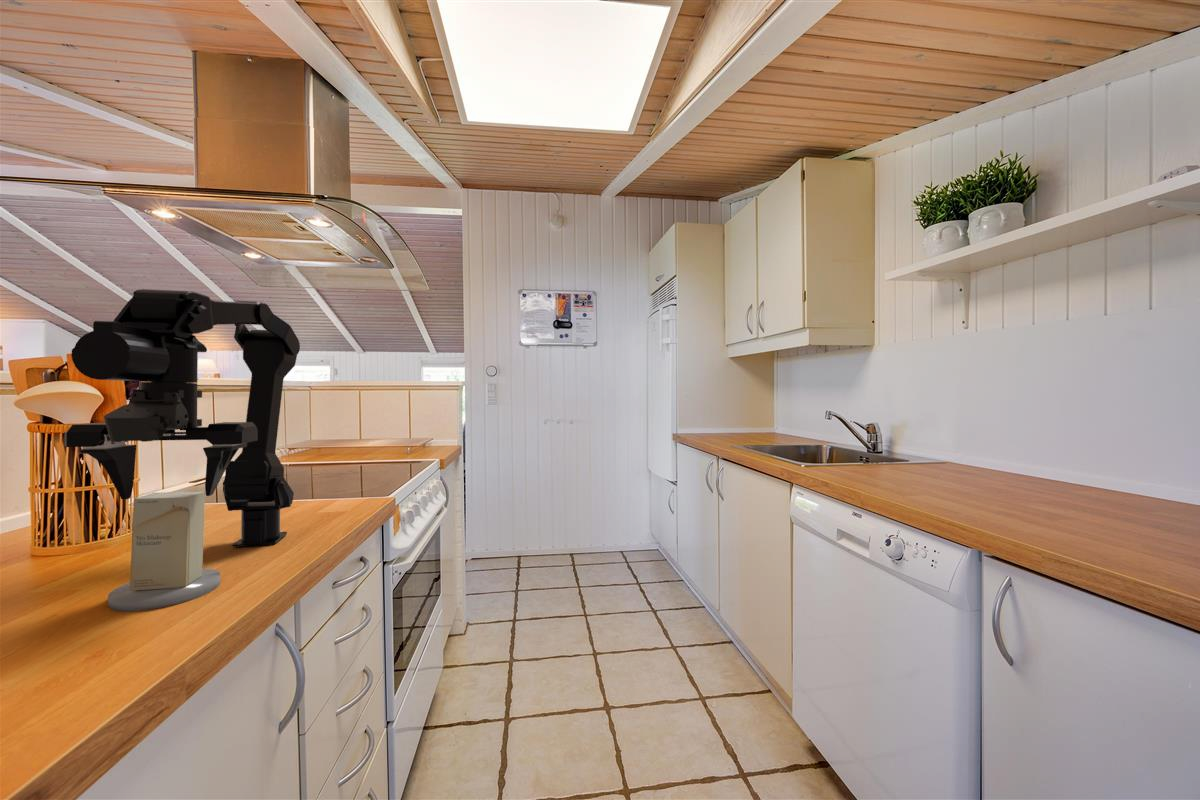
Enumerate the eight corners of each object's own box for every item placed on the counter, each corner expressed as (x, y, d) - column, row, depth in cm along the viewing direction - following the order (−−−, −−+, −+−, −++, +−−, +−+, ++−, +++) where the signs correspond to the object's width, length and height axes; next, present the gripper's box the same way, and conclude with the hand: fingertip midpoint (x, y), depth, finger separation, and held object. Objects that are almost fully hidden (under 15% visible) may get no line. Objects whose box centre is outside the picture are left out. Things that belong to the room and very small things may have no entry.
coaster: (143, 581, 66) (143, 572, 66) (234, 573, 69) (234, 565, 69) (83, 616, 55) (83, 606, 55) (194, 605, 58) (194, 595, 58)
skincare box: (128, 592, 59) (129, 499, 59) (151, 579, 63) (151, 492, 63) (187, 587, 61) (188, 496, 61) (205, 574, 65) (206, 489, 65)
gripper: (24, 379, 51) (23, 516, 52) (222, 382, 57) (221, 506, 57) (98, 381, 62) (98, 496, 62) (259, 384, 68) (258, 489, 68)
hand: (168, 497), depth 62 cm, fingers open, 9 cm apart
